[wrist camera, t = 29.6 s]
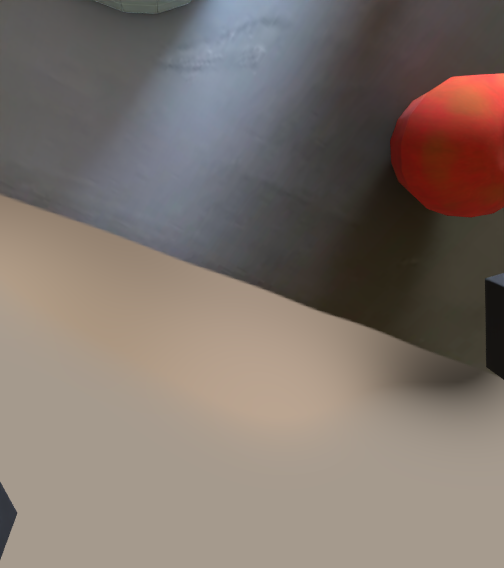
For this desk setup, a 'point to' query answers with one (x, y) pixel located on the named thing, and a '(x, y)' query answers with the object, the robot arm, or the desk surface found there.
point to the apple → (454, 146)
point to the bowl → (144, 5)
